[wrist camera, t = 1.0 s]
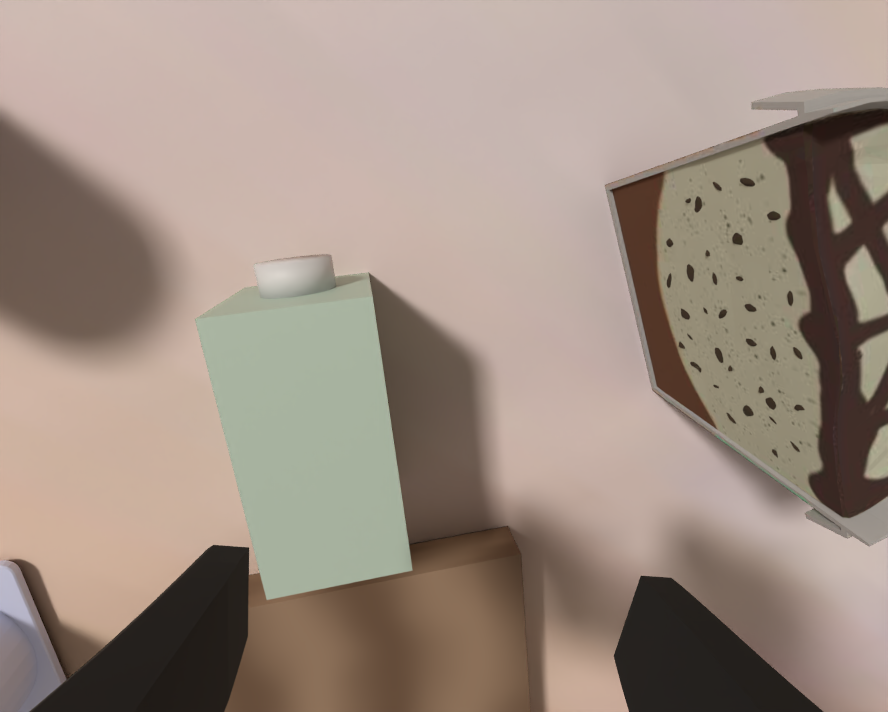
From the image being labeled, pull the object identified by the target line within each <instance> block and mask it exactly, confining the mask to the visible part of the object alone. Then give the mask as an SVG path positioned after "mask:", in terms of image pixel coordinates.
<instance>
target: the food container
mask: <svg viewBox="0 0 888 712" xmlns="http://www.w3.org/2000/svg"><path fill="white" fill-rule="evenodd" d="M751 109H759V110H797V111H798V116H797V117H794V118H792V119H789V120H786V121H783V122H780V123H778V124H775V125H772V126H769V127H766V128H764V129H761V130H758V131H755V132H752V133H750V134H747V135H744V136H741V137H738V138H736V139H733V140H730V141H727V142H724V143H722V144H719V145H716V146H713V147H710V148H708V149H705V150H702V151H699V152H696V153H694V154H691V155H688V156H685V157H682V158H680V159H677V160H674V161H671V162H668V163H666V164H663V165H660V166H657V167H654V168H652V169H649V170H646V171H643V172H640V173H638V174H635V175H632V176H629V177H626V178H624V179H621V180H618V181H615V182H612V183H610V184H607V185H605V189H606V193H607V197H608V202H609V206H610V210H611V215H612V219H613V223H614V228H615V232H616V236H617V240H618V245H619V249H620V253H621V258H622V262H623V266H624V271H625V275H626V279H627V283H628V288H629V292H630V296H631V301H632V305H633V309H634V314H635V318H636V322H637V327H638V331H639V335H640V339H641V344H642V348H643V352H644V357H645V361H646V365H647V370H648V374H649V378H650V383H651V387H652V390H653V391H654V392H656V393H657V394H659V395H660V396H661V397H663V398H664V399H665V400H667V401H668V402H669V403H671V404H672V405H674V406H675V407H676V408H678V409H679V410H680V411H682V412H683V413H685V414H686V415H687V416H689V417H690V418H691V419H693V420H694V421H695V422H697V423H698V424H700V425H701V426H702V427H704V428H705V429H706V430H708V431H709V432H711V433H712V434H713V435H715V436H716V437H717V438H719V439H720V440H721V441H723V442H724V443H726V444H727V445H728V446H730V447H731V448H732V449H734V450H735V451H737V452H738V453H739V454H741V455H742V456H743V457H745V458H746V459H747V460H749V461H750V462H752V463H753V464H754V465H756V466H757V467H758V468H760V469H761V470H763V471H764V472H765V473H767V474H768V475H769V476H771V477H772V478H773V479H775V480H776V481H778V482H779V483H780V484H782V485H783V486H784V487H786V488H787V489H789V490H790V491H791V492H793V493H794V494H795V495H797V496H798V497H799V498H801V499H802V500H804V501H805V502H806V503H808V504H809V505H810V506H812V507H813V508H814V509H812V510H810V511H808V512H806V513H805V515H806V518H807V519H809V520H811V521H813V522H815V523H817V524H819V525H821V526H823V527H825V528H827V529H829V530H831V531H833V532H835V533H837V534H839V535H841V536H843V537H845V538H847V539H848V538H850V537H852V536H853V537H855V538H856V539H858V540H860V541H861V542H863V543H864V544H866V545H868V546H871V545H873V544H875V543H877V542H879V541H881V540H883V539H885V538H887V537H888V88H839V89H817V90H806V91H796V92H786V93H782V94H779V95H775V96H772V97H768V98H765V99H761V100H758V101H754V102H752V108H751Z"/></svg>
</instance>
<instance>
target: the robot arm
mask: <svg viewBox="0 0 888 712" xmlns="http://www.w3.org/2000/svg"><path fill="white" fill-rule="evenodd" d="M248 596H249V548H247V547H233V546H219V545H213V546H211V547H210V548H208V549H207V550H206V551H205V552H204V553H203V554H202V555H201V556H200V557H199V558H198V559H197V560H196V561H195V562H194V563H193V564H192V565H191V566H190V567H189V568H188V569H187V570H186V571H185V572H184V573H183V574H182V575H181V576H180V577H179V578H178V579H177V580H176V581H174V582H173V583H172V584H171V585H170V586H169V587H168V588H167V589H166V590H165V591H164V592H163V593H162V594H161V595H160V596H159V597H158V598H157V599H156V600H155V601H154V602H153V603H152V604H151V605H150V606H148V607H147V608H146V609H145V610H144V611H143V612H142V613H141V614H140V615H139V616H138V617H137V618H136V619H134V620H133V621H132V622H131V623H130V624H129V625H128V626H127V627H126V628H125V629H124V630H122V631H121V632H120V633H119V634H118V635H117V636H116V637H115V638H114V639H113V640H112V641H110V642H109V643H108V644H107V645H106V646H105V647H104V648H103V649H102V650H101V651H99V652H98V653H97V654H96V655H95V656H94V657H93V658H92V659H90V660H89V661H88V662H87V663H86V664H85V665H83V666H82V667H81V668H80V669H79V670H78V671H76V672H75V673H74V674H73V675H72V676H71V677H69V678H68V679H67V680H66V677H65V675H64V672H63V670H62V668H61V665H60V663H59V660H58V658H57V656H56V653H55V651H54V649H53V646H52V644H51V641H50V639H49V637H48V634H47V632H46V629H45V627H44V625H43V622H42V620H41V618H40V615H39V613H38V610H37V608H36V606H35V603H34V601H33V598H32V596H31V594H30V591H29V589H28V586H27V584H26V582H25V579H24V577H23V575H22V572H21V570H20V568H19V566H18V565H17V564H15V563H14V562H11V561H8V560H3V561H0V712H224V711H225V709H226V706H227V704H228V701H229V698H230V695H231V692H232V688H233V685H234V682H235V679H236V675H237V672H238V669H239V665H240V662H241V659H242V655H243V652H244V648H245V645H246V642H247V638H248ZM614 659H615V663H616V666H617V670H618V674H619V678H620V682H621V685H622V689H623V692H624V696H625V699H626V703H627V706H628V709H629V712H823V711H822V710H821V709H819V708H818V707H817V706H816V705H815V704H814V703H812V702H811V701H810V700H809V699H808V698H807V697H805V696H804V695H803V694H802V693H801V692H800V691H799V690H797V689H796V688H795V687H794V686H793V685H792V684H791V683H789V682H788V681H787V680H786V679H785V678H784V677H783V676H781V675H780V674H779V673H778V672H777V671H776V670H775V669H774V668H772V667H771V666H770V665H769V664H768V663H767V662H766V661H765V660H763V659H762V658H761V657H760V656H759V655H758V654H757V653H756V652H754V651H753V650H752V649H751V648H750V647H749V646H748V645H747V644H746V643H744V642H743V641H742V640H741V639H740V638H739V637H738V636H737V635H736V634H735V633H733V632H732V631H731V630H730V629H729V628H728V627H727V626H726V625H725V624H724V623H722V622H721V621H720V620H719V619H718V618H717V617H716V616H715V615H714V614H712V613H711V612H710V611H709V610H708V609H707V608H706V607H705V606H704V605H702V604H701V603H700V602H699V601H698V600H697V599H696V598H695V597H693V596H692V595H691V594H690V593H689V592H688V591H686V590H685V589H684V588H683V587H682V586H681V585H679V584H678V583H677V582H676V581H675V580H673V579H672V578H664V577H650V576H641V577H640V580H639V583H638V586H637V589H636V592H635V595H634V598H633V601H632V604H631V607H630V610H629V613H628V616H627V618H626V621H625V624H624V627H623V630H622V633H621V636H620V639H619V642H618V645H617V648H616V651H615V654H614Z"/></svg>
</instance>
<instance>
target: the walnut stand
mask: <svg viewBox="0 0 888 712" xmlns="http://www.w3.org/2000/svg"><path fill="white" fill-rule="evenodd" d="M409 549H410V556H411V563H412V570H413V571H408V572H403V573H398V574H393V575H388V576H383V577H378V578H373V579H368V580H363V581H358V582H353V583H349V584H344V585H339V586H334V587H329V588H324V589H319V590H314V591H309V592H304V593H299V594H294V595H289V596H284V597H279V598H274V599H270V600H267V599H266V595H265V591H264V587H263V584H262V580H261V576H260V573H258V574H253V575H249V596H248V638H247V642H246V645H245V648H244V652H243V655H242V659H241V662H240V665H239V669H238V672H237V675H236V679H235V682H234V685H233V688H232V692H231V695H230V698H229V701H228V704H227V706H226V709H225V711H224V712H530V695H529V679H528V662H527V645H526V628H525V612H524V595H523V578H522V562H521V553H520V551H519V549H518V547H517V545H516V542H515V540H514V538H513V536H512V534H511V532H510V530H509V528H508V526H506V527H501V528H496V529H490V530H485V531H480V532H475V533H469V534H464V535H459V536H454V537H448V538H443V539H438V540H432V541H427V542H422V543H417V544H411V545H409Z"/></svg>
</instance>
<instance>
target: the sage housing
mask: <svg viewBox="0 0 888 712" xmlns="http://www.w3.org/2000/svg"><path fill="white" fill-rule="evenodd" d="M253 266H254V271H255V276H256V280H257V285H258V286H254V287H246V288H243V289H242V290H240V291H239V292H237V293H236V294H234V295H232V296H231V297H229V298H228V299H226V300H225V301H223V302H221V303H220V304H218V305H217V306H215V307H213V308H212V309H210V310H209V311H207V312H206V313H204V314H202V315H201V316H199V317H198V318H196V319H195V321H196V325H197V329H198V333H199V337H200V341H201V345H202V349H203V352H204V356H205V360H206V364H207V368H208V372H209V376H210V380H211V384H212V388H213V392H214V396H215V399H216V403H217V407H218V411H219V415H220V419H221V423H222V427H223V431H224V435H225V439H226V443H227V446H228V450H229V454H230V458H231V462H232V466H233V470H234V474H235V478H236V482H237V486H238V490H239V493H240V497H241V501H242V505H243V509H244V513H245V517H246V521H247V525H248V529H249V533H250V537H251V540H252V544H253V548H254V552H255V556H256V560H257V564H258V568H259V572H260V576H261V580H262V584H263V587H264V591H265V595H266V599H267V600H270V599H274V598H279V597H284V596H289V595H294V594H299V593H304V592H309V591H314V590H319V589H324V588H329V587H334V586H339V585H344V584H349V583H353V582H358V581H363V580H368V579H373V578H378V577H383V576H388V575H393V574H398V573H403V572H408V571H413V570H412V563H411V556H410V549H409V542H408V535H407V529H406V522H405V515H404V508H403V501H402V494H401V487H400V481H399V474H398V467H397V460H396V453H395V446H394V440H393V433H392V426H391V419H390V412H389V405H388V398H387V392H386V385H385V378H384V371H383V364H382V357H381V351H380V344H379V337H378V330H377V323H376V316H375V309H374V303H373V296H372V290H371V284H370V278H369V272H368V273H360V274H352V275H344V276H336V277H335V275H334V269H333V263H332V257H331V255H310V256H300V257H291V258H284V259H277V260H271V261H265V262H260V263H256V264H254V265H253Z"/></svg>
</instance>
